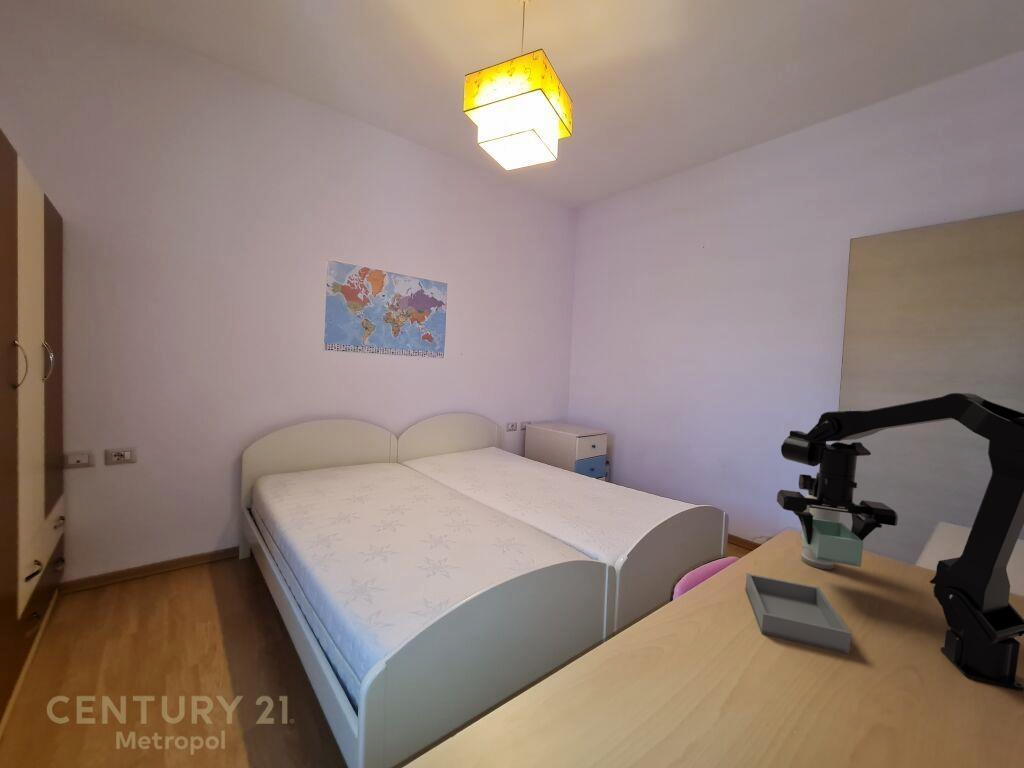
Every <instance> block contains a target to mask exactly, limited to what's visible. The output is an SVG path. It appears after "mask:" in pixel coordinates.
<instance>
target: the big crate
mask: <svg viewBox="0 0 1024 768" xmlns="http://www.w3.org/2000/svg"><path fill="white" fill-rule="evenodd" d="M744 590H745V593H746V595H747V598H748V601H749V604H750V606H751V608H752V611H753V614H754V617H755V619H756V620H755V621H757V622H756V623H757V624H758V627H759V631H760V633H761V634H764V635H767V636H771V637H776V638H780V639H784V640H788V641H793V642H796V643H800V644H801V643H802V644H804V645H805V644H806V645H810V646H813V647H818V648H822V649H826V650H831V651H835V652H839V653H842V654H843V653H844V654H847V655H849V654H850V649H851V641H852V632H851V631H850V630H849V628H848V627H847V625H846V624H845V623H844V621H843V619H842V618H841V617H840V615H839V614H838V612H837V611H836V610H835V608H834V606H833V605H832V604H831V603H830V601H829V600H828V599H827V597H826V595H825V594H824V592H823V591H822V589H821V588H820V587H818V586H814V585H813V586H812V585H807V584H803V583H798V582H793V581H787V580H784V579H783V580H782V579H777V578H773V577H766V576H762V575H757V574H751V573H746V577H745V589H744Z"/></svg>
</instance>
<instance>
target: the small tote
mask: <svg viewBox="0 0 1024 768" xmlns="http://www.w3.org/2000/svg"><path fill="white" fill-rule="evenodd" d="M800 540H801V541H802V543H803V542H804V543H805V545H806V546H807V547H808V548H809V550H810V551H811V552H812V554H813V555H814V556H815V557H816V559H817V560H823V561H829V562H834V563H835V564H841V565H846V566H850V567H851V566H852V567H857V568H861V567H862V557H863V549H864V540H863V541H862V540H861V539H860V538H859V537H857V536H856V535H855V534H854V533H853V532H852V531H851V529H850V528H848V526H846V525H845V524H844V523H843V522H841V521H839V522H835V521H828V520H821V519H815V518H813V526H812V539H811V543H810V545H809V544H807V542H806V539H805V536H804V532H803V529H802V528H801V536H800Z"/></svg>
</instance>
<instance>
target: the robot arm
mask: <svg viewBox="0 0 1024 768" xmlns="http://www.w3.org/2000/svg"><path fill="white" fill-rule="evenodd" d="M949 420H955V421H957V422H958V423H960V424H962V425H963V426H964V427H966V428H967V429H969V430H970V431H971V432H973V433H975V434H977V435H979V436H980V437H983V438H985V439H986V440H988V447H987V449H988V451H987V456H988V459H989V462H990V468H991V476H990V478H989V481H988V483H987V486H986V489H985V492H984V495H983V497H982V500H981V503H980V505H979V508H978V511H977V514H976V516H975V519H974V521H973V524H972V526H971V529H970V531H969V535H968V537H967V540H966V542H965V543H966V544H965V545H964V549H963V551H962V553H961V555H960V556H958V557H953V558H946V559H941V560H938V562H937V565H936V571H935V576H934V577H933V578H931V579H930V580H929V583H930V584H933V585H934V586H933V596H934V598H936V599H937V601H938V603H939V605H940V606H941V608H942V611H943V615H944V618H945V620H946V621H945V622H946V624H947V626H948V627H949V628H947V629H946V631H945V639H944V646H940V649H939V650H940V652H941V653H942V654H943V655H945V656H946V658H947V659H948V660H949V661H950V662H951V663H952V664H953V665H954V666H955V667H956V668H957V669H958V670H959V671H960V673H962V675H964V676H965V677H966V678H969V679H973V680H976V681H979V682H980V681H981V682H986V683H990V684H994V685H998V686H1003V687H1005V688H1010V689H1015V690H1019V691H1024V685H1023V684H1022V683H1021V682H1020V681H1019V680H1018V679H1017V678H1016V677H1017V670H1018V663H1019V654H1020V648H1021V643H1020V642H1019V641H1018V640H1017V639H1015V638H1017V637H1023V636H1024V618H1023V616H1021V615H1020V614H1019V612H1018V611H1017V610H1016V609H1015V608H1014V607H1013V606H1012V604H1011V603H1010V602H1009V601H1010V593H1011V592H1010V591H1011V583H1010V580H1009V576H1008V571H1007V569H1008V568H1007V566H1008V564H1009V562H1010V559H1011V557H1012V554H1013V551H1014V549H1015V547H1016V545H1017V542H1018V539H1019V536H1020V534H1021V532H1022V529H1023V526H1024V412H1022V411H1019V410H1016V409H1014V408H1010V407H1007V406H1004V405H1001V404H998V403H996V402H992V401H990V400H987V399H986V398H984V397H981V396H980V395H977V394H973V393H970V392H969V393H967V392H955V393H954V392H953V393H947V394H945V395H943V396H939V397H933V398H928V399H923V400H919V401H912V402H906V403H902V404H895V405H891V406H886V407H880V408H875V409H870V410H869V409H868V410H842V411H841V410H836V411H835V410H834V411H826V412H824V413H822V414H821V415H820V417H819V419H818V422H817V423H816V424H815V426H813V427H812V428H811V430H809V431H808V432H807V433H805V432H803V431H799V430H790V431H789V436H787V437H786V438H785V439H784V440H783V443H782V444H781V445H780V452H781V455H782V457H783V458H784V459H785V460H788V461H791V462H796V463H799V464H803V465H806V466H809V467H817V466H819V469H818V470H819V471H818V472H816V475H815V478H816V479H812V478H813V477H812V475H809V474H802V473H801V474H799V477H798V489H800V490H803V491H808V492H807V493H808V495H812V496H813V497H817V499H812V498H807V497H805V496H804V495H803V494H802V493H801V492H800V491H794V490H788V489H787V490H786V489H780V490H779V491H778V492H777V493H776V503H778V505H779V506H780V507H781V508H782V510H785V511H791V512H793V514H794V515H795V516H797V517H798V519H799V521H800V525H801V530H802V529H803V532H804V536H805V539H806V542H807V544H809V545H810V543H811V539H812V526H813V515H812V514H811V513H810V508H816V509H824V510H831V511H838V512H840V513H846V514H851V520H852V524H851V529H850V530H851V531H852V532H853V533H854V534H855V535H856V536H857V537H859V538H860V539H861V540H862V541H863V542H864V540H865V539H866V538H867V536H869V535H870V534H871V533H872V532H874V530H875V529H876V528H879V529H881V528H882V527H883V525H885V526H886V525H888V526H894V527H896V526H897V525H898V518H899V517H898V513H897V512H896V511H895V510H894V509H892V508H891V507H890V506H888V505H886V504H885V503H883V502H878V501H870V500H863V499H861V501H860V502H859V504H856V503H855V502H853V498H854V491H855V490H854V489H857V487H858V483H857V482H855V480H856V473H857V472H856V470H857V459H858V457H862V456H863V457H865V456H871V455H872V453H871V451H870V450H868V448H866V447H865V446H864V445H863V443H862V442H859V441H857V442H856V441H855V442H854V441H853V442H852V443H850V444H849V443H845V442H840V441H849V440H859V439H862V438H865V437H868V436H872V435H874V434H877V433H878V432H881V431H884V430H887V429H895V428H901V427H907V426H908V427H909V426H916V425H922V424H928V423H929V424H930V423H936V422H937V423H938V422H943V421H949ZM827 442H833V443H831V444H829V443H827ZM822 504H825V505H822ZM826 505H830V506H826ZM837 506H838V507H837Z"/></svg>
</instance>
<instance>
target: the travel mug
mask: <svg viewBox="0 0 1024 768" xmlns="http://www.w3.org/2000/svg"><path fill="white" fill-rule="evenodd" d="M812 479H816V477H815V478H814V477H812ZM806 491H807V494H806V498H812V499H817V497H813V496H812V495H808V490H806ZM822 505H825V504H822ZM826 506H830V505H826ZM837 507H838V506H837ZM810 513H811V514H812V515H813V518H815V519H821V520H828V521H835V522H840V518H841V517H840V516H841V512H838V511H831V510H824V509H816V508H810ZM800 558H801V560H802V562H803V563H805V564H807V565H809V566H811V567H814V568H816V569H821V570H829V571H831V570H833V569H834V568H836V567H835V565H836V563H834V562H829V561H823V560H817V559H816V557H815V556H814V555H813V554H812V552H811V551H810V550H809V548H808V547H807V546H806V545H805V543H804V542H803V541H802V544H801V555H800Z"/></svg>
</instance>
